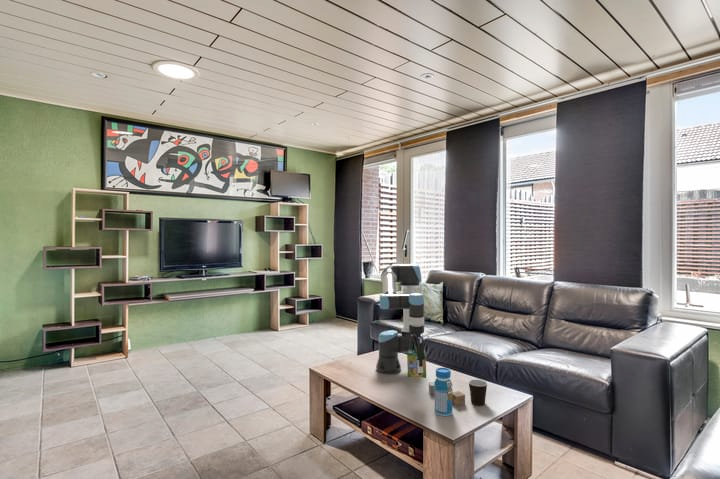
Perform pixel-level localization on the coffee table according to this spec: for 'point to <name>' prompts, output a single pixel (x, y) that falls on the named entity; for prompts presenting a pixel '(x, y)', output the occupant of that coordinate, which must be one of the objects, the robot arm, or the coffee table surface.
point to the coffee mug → (478, 392)
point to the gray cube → (431, 388)
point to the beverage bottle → (443, 392)
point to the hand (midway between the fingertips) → (416, 368)
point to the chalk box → (415, 364)
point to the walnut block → (458, 398)
